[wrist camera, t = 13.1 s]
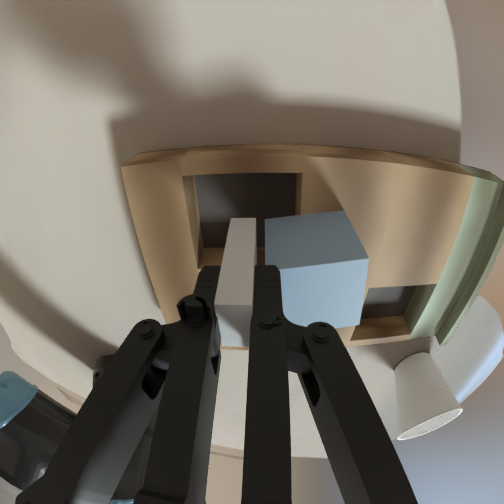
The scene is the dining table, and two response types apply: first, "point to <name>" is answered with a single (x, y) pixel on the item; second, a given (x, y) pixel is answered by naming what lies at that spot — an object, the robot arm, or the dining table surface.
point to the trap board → (326, 200)
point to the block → (318, 267)
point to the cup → (422, 397)
